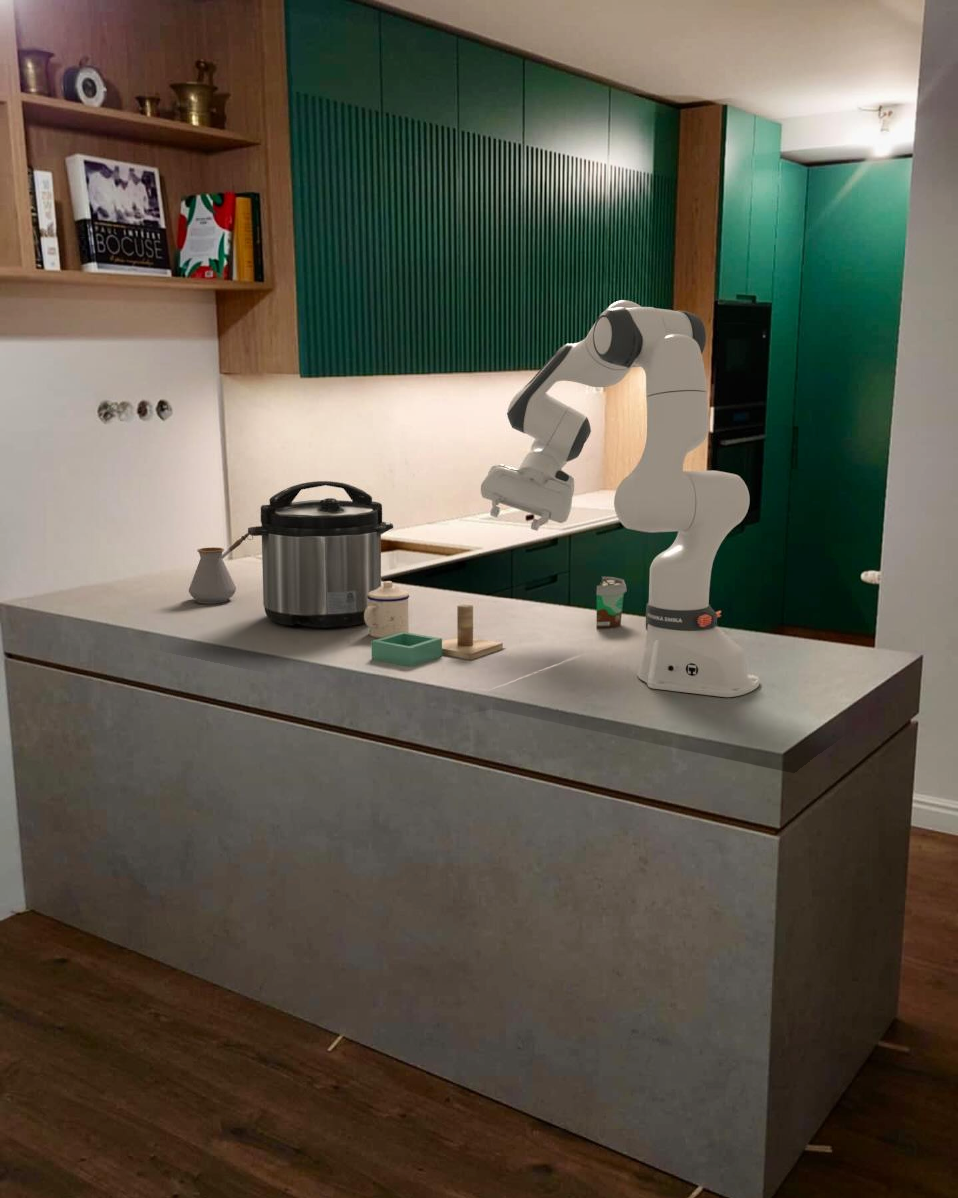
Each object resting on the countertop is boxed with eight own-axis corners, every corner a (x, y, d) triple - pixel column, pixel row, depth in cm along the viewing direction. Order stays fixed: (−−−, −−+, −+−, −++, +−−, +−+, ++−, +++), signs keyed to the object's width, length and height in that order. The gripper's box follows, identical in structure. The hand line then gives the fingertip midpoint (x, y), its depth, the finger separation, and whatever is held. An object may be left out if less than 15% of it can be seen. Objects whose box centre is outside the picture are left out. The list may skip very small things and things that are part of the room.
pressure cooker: (403, 608, 285) (401, 476, 279) (369, 635, 258) (366, 489, 252) (285, 602, 291) (280, 473, 285) (239, 628, 264) (233, 486, 258)
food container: (623, 631, 261) (624, 587, 259) (595, 630, 263) (596, 586, 261) (628, 619, 273) (629, 576, 271) (601, 618, 274) (602, 575, 272)
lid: (502, 648, 245) (502, 605, 243) (471, 659, 236) (470, 614, 234) (459, 641, 251) (459, 598, 249) (427, 651, 242) (427, 607, 240)
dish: (442, 657, 239) (441, 638, 238) (410, 668, 231) (410, 648, 230) (403, 650, 245) (403, 631, 244) (371, 660, 237) (371, 641, 236)
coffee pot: (216, 607, 286) (213, 545, 283) (179, 602, 291) (176, 542, 288) (270, 591, 305) (268, 533, 302) (234, 587, 310) (232, 530, 307)
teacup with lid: (386, 627, 265) (386, 576, 263) (418, 633, 260) (417, 581, 258) (350, 637, 256) (348, 584, 253) (381, 643, 251) (380, 589, 248)
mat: (505, 650, 245) (505, 648, 245) (471, 662, 235) (471, 660, 235) (459, 642, 252) (459, 640, 252) (424, 653, 242) (424, 651, 242)
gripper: (494, 452, 262) (469, 497, 255) (581, 480, 257) (558, 526, 250) (493, 471, 267) (469, 515, 260) (579, 499, 263) (556, 544, 255)
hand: (513, 521), depth 255 cm, fingers open, 8 cm apart
